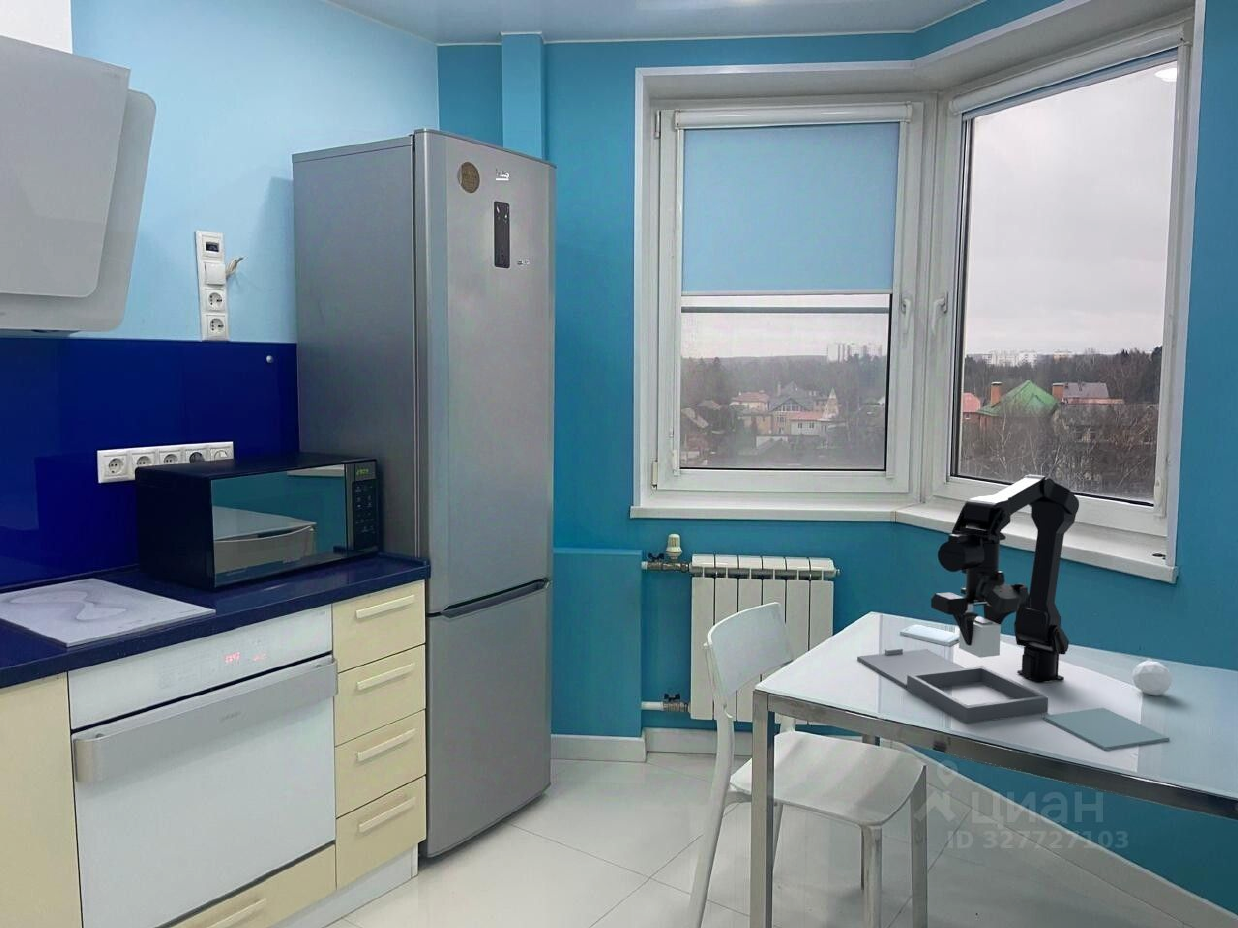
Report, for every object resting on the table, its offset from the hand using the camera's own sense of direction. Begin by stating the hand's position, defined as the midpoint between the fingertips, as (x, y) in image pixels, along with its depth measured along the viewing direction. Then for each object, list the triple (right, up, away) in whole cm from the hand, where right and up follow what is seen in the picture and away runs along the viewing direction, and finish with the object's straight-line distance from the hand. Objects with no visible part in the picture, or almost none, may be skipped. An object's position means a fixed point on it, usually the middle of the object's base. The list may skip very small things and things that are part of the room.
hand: (979, 643), depth 165 cm
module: (0, -2, 0) cm, 2 cm away
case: (-3, -10, +10) cm, 15 cm away
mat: (+17, -13, -12) cm, 25 cm away
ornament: (+36, -11, +5) cm, 38 cm away
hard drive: (+6, -8, +42) cm, 43 cm away
